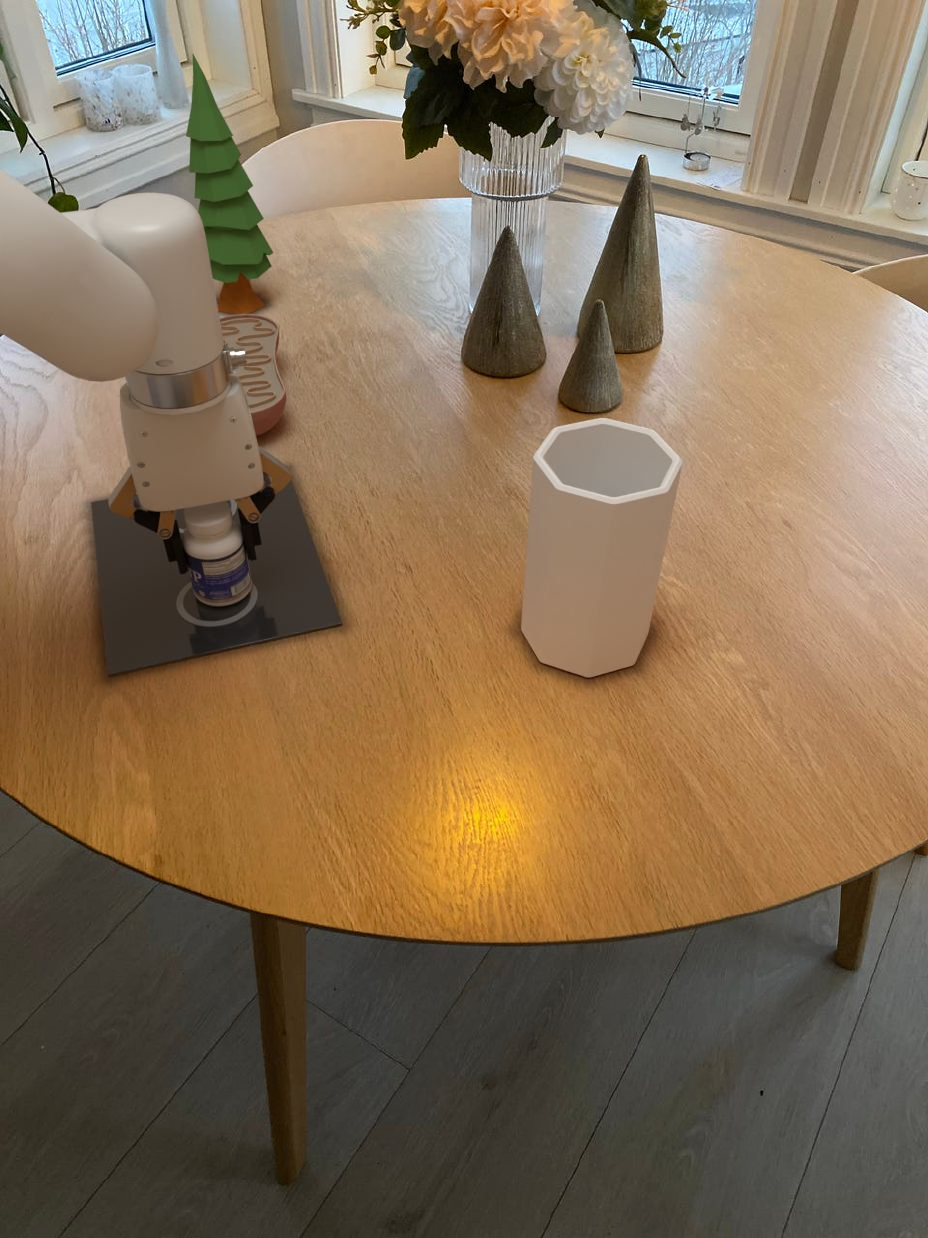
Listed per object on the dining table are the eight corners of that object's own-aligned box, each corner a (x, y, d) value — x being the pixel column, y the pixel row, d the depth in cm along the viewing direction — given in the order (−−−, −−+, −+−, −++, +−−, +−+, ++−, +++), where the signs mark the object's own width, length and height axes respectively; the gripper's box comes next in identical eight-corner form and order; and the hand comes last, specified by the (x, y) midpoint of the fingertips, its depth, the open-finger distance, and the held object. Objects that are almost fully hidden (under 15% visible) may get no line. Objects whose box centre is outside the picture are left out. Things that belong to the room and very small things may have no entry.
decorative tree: (212, 290, 132) (168, 42, 111) (281, 287, 133) (250, 41, 112) (206, 323, 125) (158, 65, 104) (279, 320, 126) (245, 64, 105)
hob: (108, 676, 80) (107, 673, 80) (91, 504, 97) (90, 500, 97) (342, 625, 85) (342, 621, 84) (287, 469, 102) (286, 465, 101)
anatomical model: (293, 449, 104) (287, 409, 101) (200, 458, 103) (191, 418, 100) (282, 348, 121) (277, 310, 117) (201, 354, 119) (194, 316, 116)
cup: (520, 588, 88) (532, 414, 76) (641, 591, 88) (673, 417, 75) (521, 677, 80) (535, 499, 68) (654, 681, 80) (693, 503, 67)
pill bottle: (188, 577, 88) (169, 499, 82) (244, 564, 90) (230, 486, 83) (200, 614, 85) (181, 535, 78) (258, 599, 86) (245, 521, 80)
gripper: (281, 334, 77) (303, 515, 89) (56, 365, 73) (113, 550, 85) (299, 379, 72) (321, 565, 84) (59, 415, 67) (119, 605, 80)
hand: (216, 555), depth 84 cm, fingers closed on pill bottle, 5 cm apart
